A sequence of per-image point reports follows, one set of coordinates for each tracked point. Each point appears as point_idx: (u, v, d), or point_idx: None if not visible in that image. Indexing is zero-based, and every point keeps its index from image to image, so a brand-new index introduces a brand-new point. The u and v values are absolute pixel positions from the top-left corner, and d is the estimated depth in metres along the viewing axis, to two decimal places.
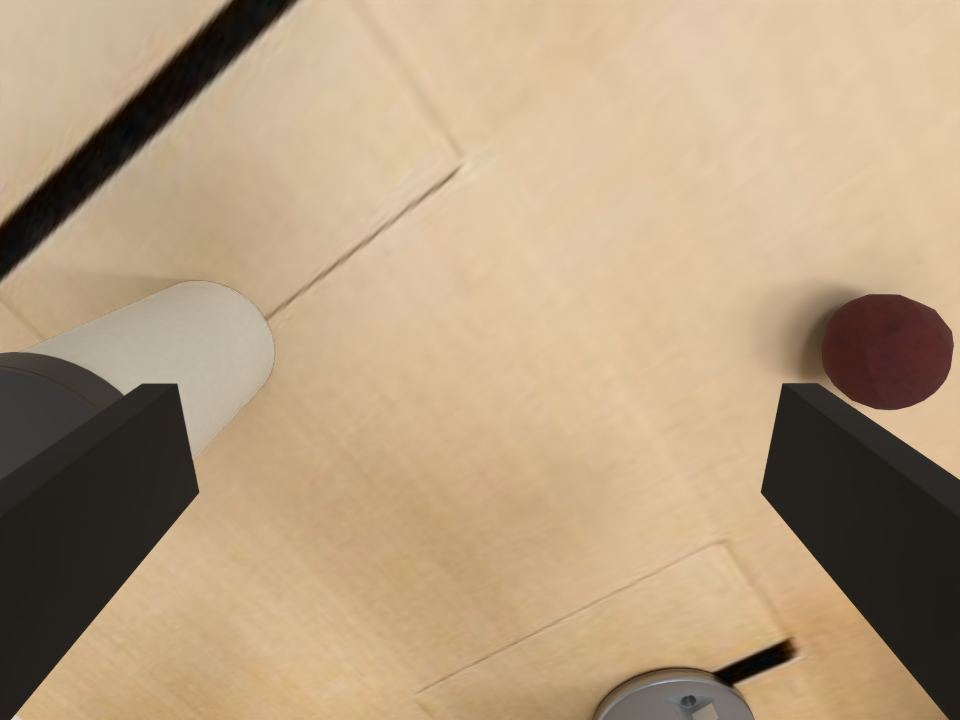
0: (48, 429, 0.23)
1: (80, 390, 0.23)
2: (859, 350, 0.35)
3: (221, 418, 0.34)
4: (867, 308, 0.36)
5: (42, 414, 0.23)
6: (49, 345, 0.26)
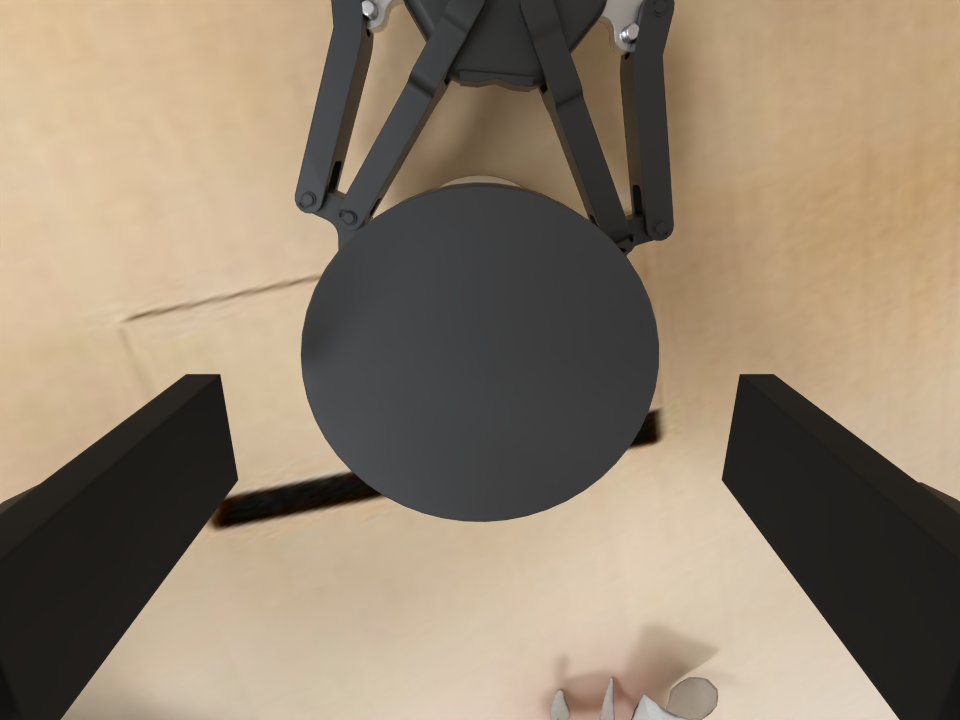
0: (384, 417, 0.17)
1: None
2: None
3: None
4: None
5: (378, 436, 0.17)
6: None
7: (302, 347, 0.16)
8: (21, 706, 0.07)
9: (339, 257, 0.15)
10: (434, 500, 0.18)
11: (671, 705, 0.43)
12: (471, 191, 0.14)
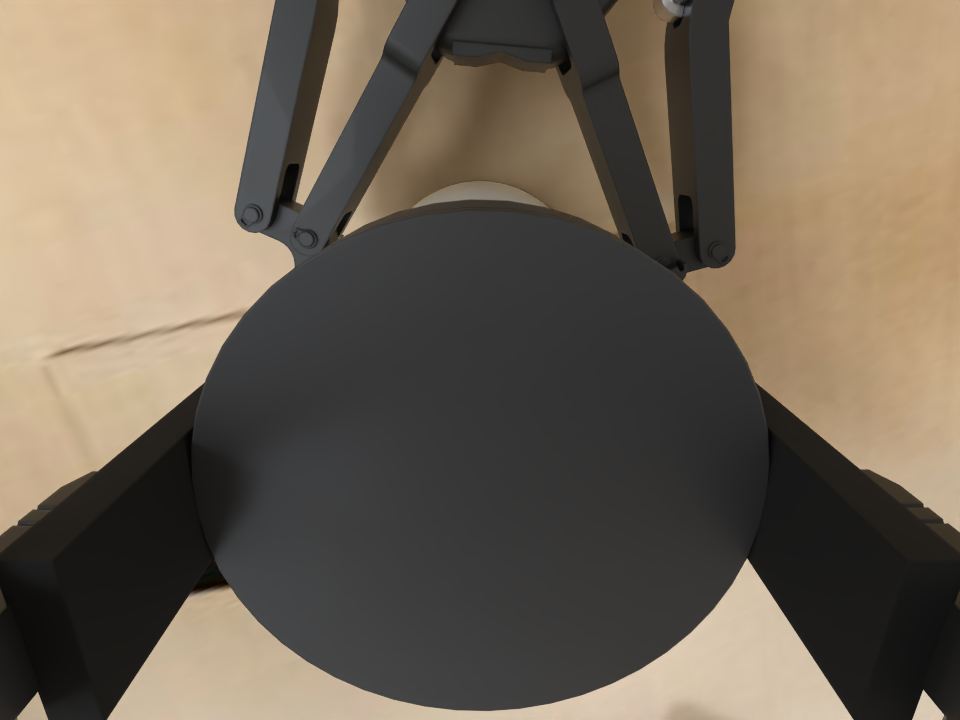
0: (329, 569, 0.11)
1: None
2: None
3: None
4: None
5: (320, 596, 0.11)
6: None
7: (193, 466, 0.10)
8: (92, 677, 0.07)
9: (244, 328, 0.09)
10: (410, 683, 0.12)
11: None
12: (465, 219, 0.08)
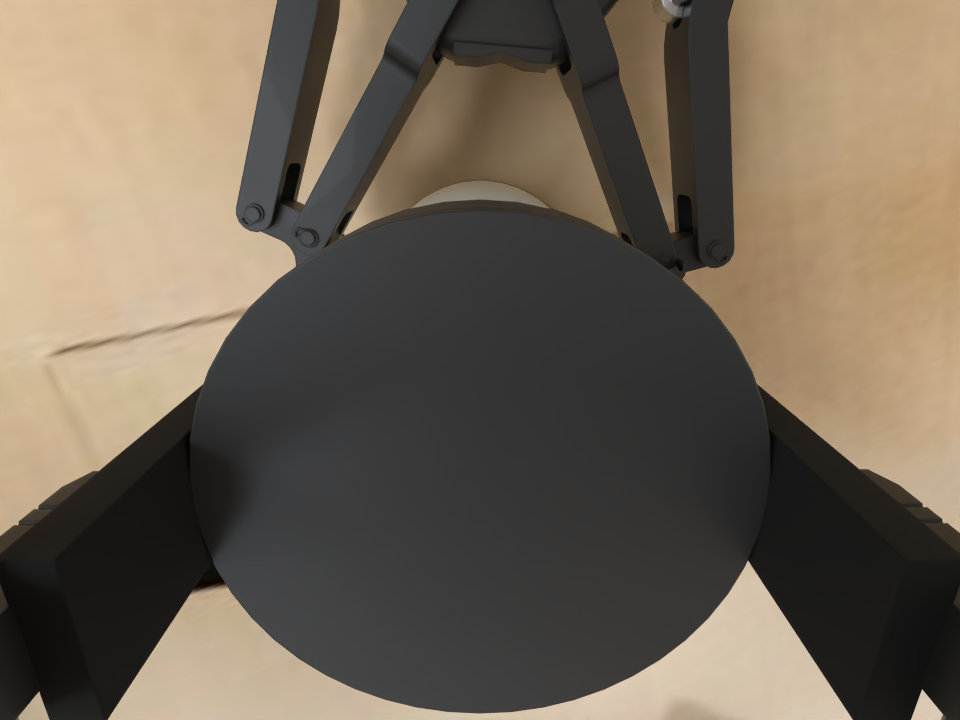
0: (486, 642, 0.11)
1: None
2: None
3: None
4: None
5: (510, 660, 0.11)
6: None
7: (346, 681, 0.12)
8: (94, 677, 0.07)
9: (240, 597, 0.11)
10: (649, 639, 0.11)
11: None
12: (201, 411, 0.09)
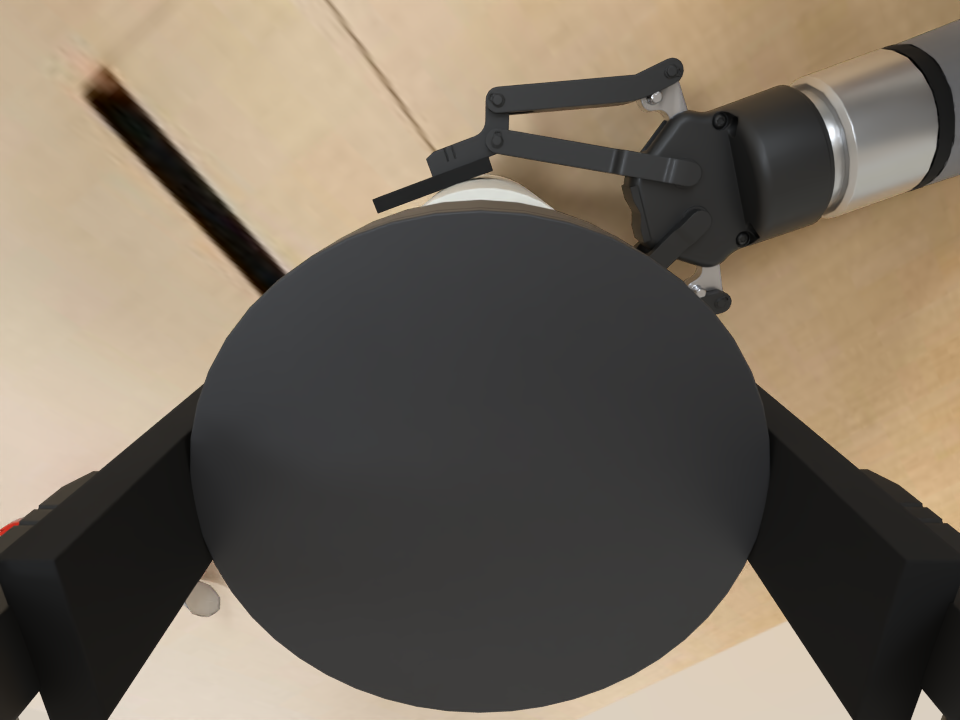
0: (486, 642, 0.11)
1: None
2: None
3: (518, 186, 0.29)
4: None
5: (510, 659, 0.11)
6: None
7: (347, 679, 0.12)
8: (94, 677, 0.07)
9: (241, 597, 0.11)
10: (648, 638, 0.11)
11: None
12: (202, 411, 0.09)
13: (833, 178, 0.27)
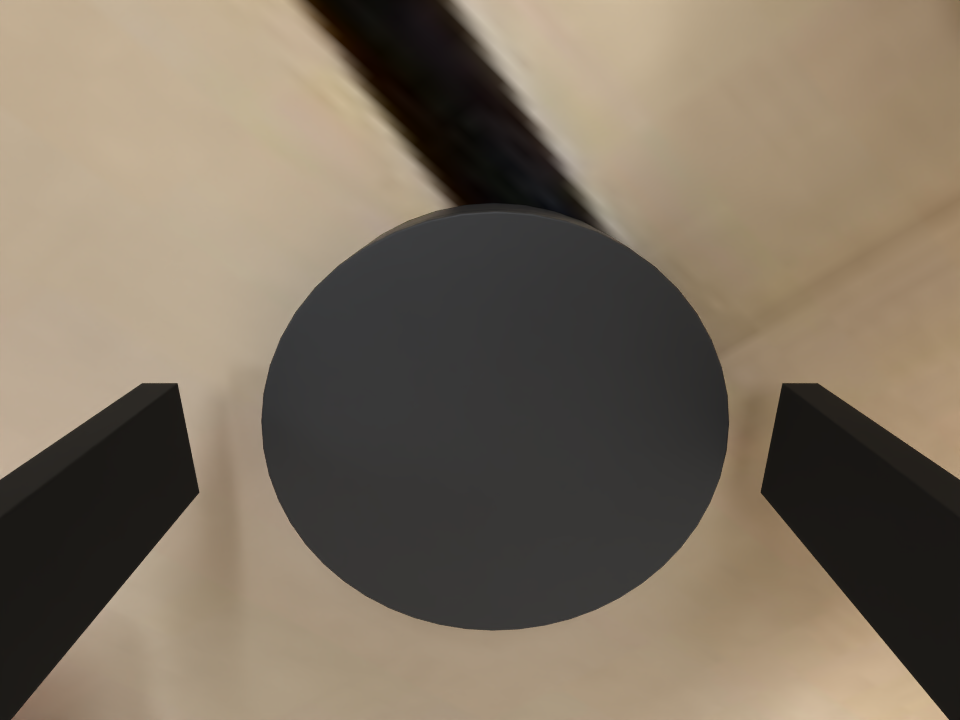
0: (498, 567, 0.14)
1: None
2: None
3: None
4: None
5: (518, 583, 0.14)
6: None
7: (382, 601, 0.14)
8: None
9: (298, 527, 0.13)
10: (632, 565, 0.14)
11: None
12: (274, 371, 0.12)
13: None
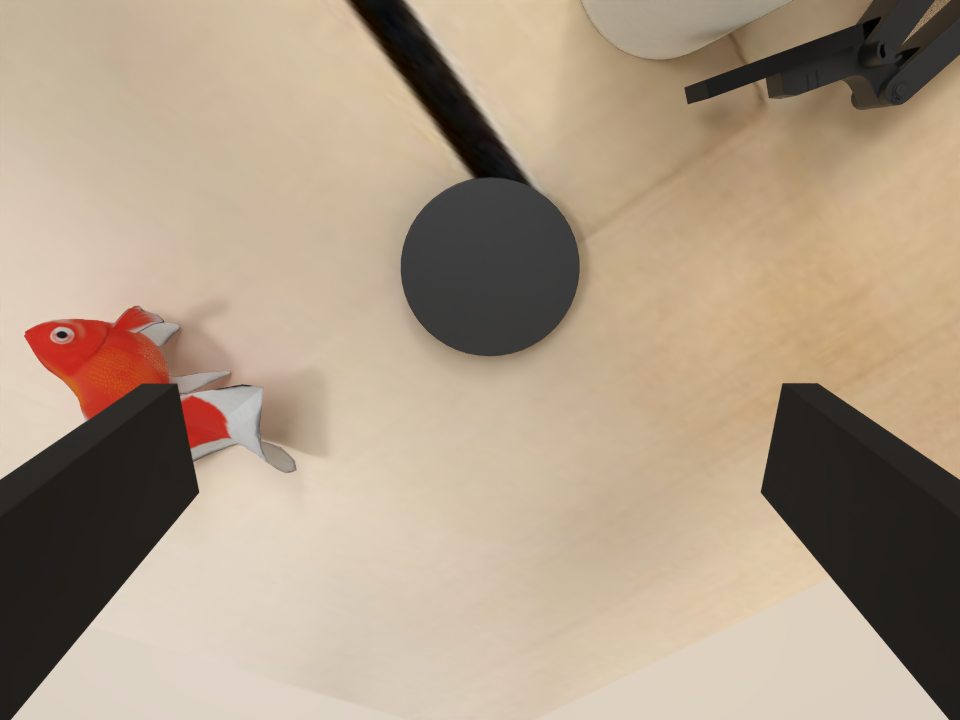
0: (491, 325, 0.34)
1: None
2: None
3: None
4: None
5: (499, 332, 0.34)
6: None
7: (443, 342, 0.34)
8: None
9: (412, 306, 0.33)
10: (545, 323, 0.33)
11: None
12: (407, 238, 0.32)
13: None
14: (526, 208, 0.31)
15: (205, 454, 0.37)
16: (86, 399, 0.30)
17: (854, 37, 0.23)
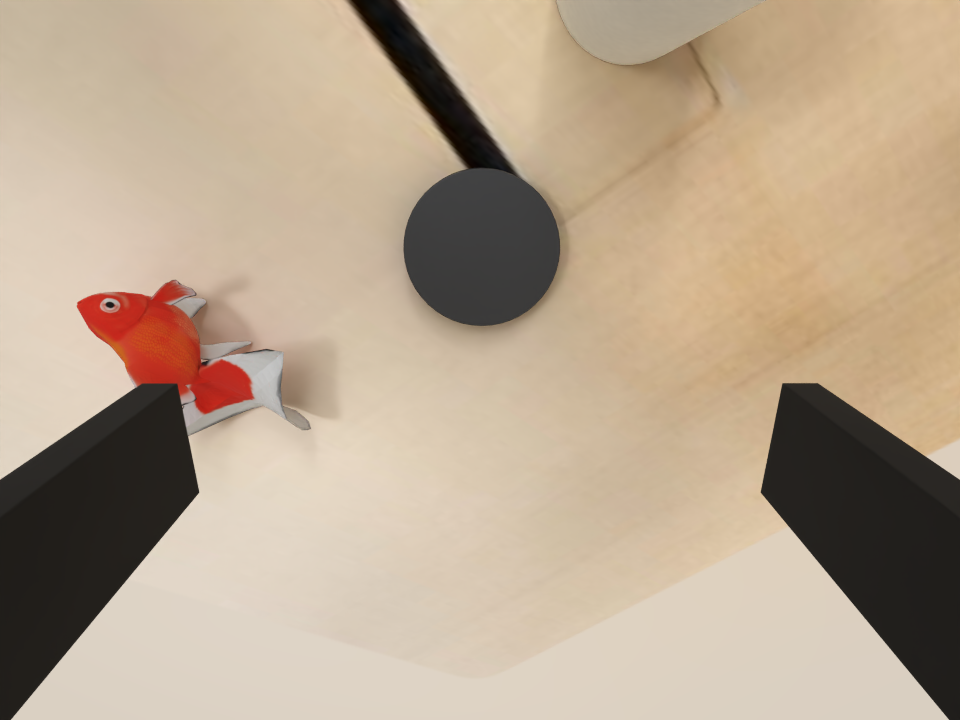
0: (483, 298, 0.38)
1: None
2: None
3: None
4: None
5: (490, 304, 0.38)
6: None
7: None
8: None
9: (413, 281, 0.38)
10: (531, 296, 0.38)
11: None
12: (409, 221, 0.36)
13: None
14: (513, 194, 0.36)
15: (229, 416, 0.42)
16: (131, 361, 0.35)
17: None
